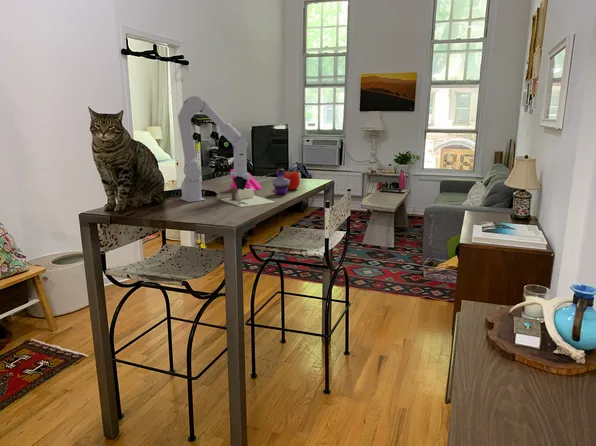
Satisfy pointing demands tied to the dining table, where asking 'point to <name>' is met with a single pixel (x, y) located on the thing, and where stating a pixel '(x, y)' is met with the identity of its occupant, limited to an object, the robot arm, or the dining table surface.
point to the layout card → (249, 201)
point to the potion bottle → (281, 183)
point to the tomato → (292, 180)
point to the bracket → (250, 183)
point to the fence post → (233, 193)
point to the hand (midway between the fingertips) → (240, 193)
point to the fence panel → (245, 193)
